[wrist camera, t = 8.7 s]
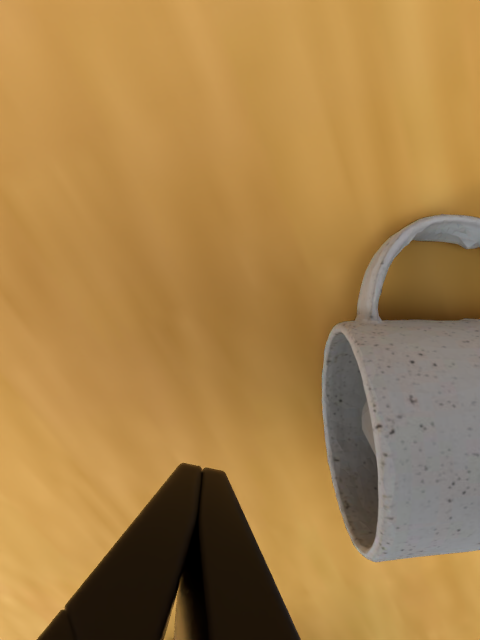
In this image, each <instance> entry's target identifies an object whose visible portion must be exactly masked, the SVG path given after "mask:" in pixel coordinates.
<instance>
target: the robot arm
mask: <svg viewBox="0 0 480 640" xmlns="http://www.w3.org/2000/svg"><path fill="white" fill-rule="evenodd" d="M177 591H178V594H177ZM176 594H177V604H176V616H175V631H174V640H301V639H300V637H299V635H298V632H297V630H296V628H295V626H294V624H293V621H292V619H291V617H290V615H289V613H288V610H287V608H286V606H285V604H284V602H283V599H282V597H281V595H280V593H279V590H278V588H277V586H276V584H275V582H274V579H273V577H272V575H271V573H270V571H269V568H268V566H267V564H266V562H265V560H264V557H263V555H262V553H261V551H260V549H259V546H258V544H257V542H256V540H255V538H254V535H253V533H252V531H251V529H250V527H249V524H248V522H247V520H246V518H245V515H244V513H243V511H242V509H241V507H240V504H239V502H238V500H237V498H236V496H235V493H234V491H233V489H232V487H231V485H230V482H229V480H228V478H227V476H226V474H225V472H224V471H221V470H216V469H211V468H204V469H203V470H202V468H201V467H200V466H196V465H191V464H186V463H182V464H180V465H179V466H178V467H177V468H176V470H175V471H174V472H173V473H172V475H171V476H170V477H169V478H168V479H167V481H166V482H165V483H164V484H163V486H162V487H161V488H160V489H159V491H158V492H157V493H156V494H155V495H154V497H153V498H152V499H151V500H150V502H149V503H148V504H147V505H146V507H145V508H144V509H143V510H142V511H141V513H140V514H139V515H138V516H137V518H136V519H135V520H134V521H133V523H132V524H131V525H130V526H129V527H128V529H127V530H126V531H125V532H124V534H123V535H122V536H121V537H120V539H119V540H118V541H117V542H116V543H115V545H114V546H113V547H112V548H111V550H110V551H109V552H108V553H107V555H106V556H105V557H104V558H103V559H102V561H101V562H100V563H99V564H98V566H97V567H96V568H95V569H94V571H93V572H92V573H91V574H90V576H89V577H88V578H87V579H86V580H85V582H84V583H83V584H82V585H81V587H80V588H79V589H78V590H77V592H76V593H75V594H74V595H73V596H72V598H71V599H70V600H69V601H68V603H67V604H66V605H65V609H64V610H61V611H60V612H59V613H58V614H57V616H56V617H55V618H54V619H53V621H52V622H51V623H50V624H49V626H48V627H47V628H46V629H45V630H44V632H43V633H42V634H41V635H40V636H39V638H38V639H37V640H164V636H165V633H166V629H167V626H168V623H169V619H170V616H171V612H172V609H173V605H174V602H175V598H176Z"/></svg>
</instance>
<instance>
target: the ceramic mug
mask: <svg viewBox="0 0 480 640" xmlns="http://www.w3.org/2000/svg"><path fill="white" fill-rule="evenodd" d="M412 240H417V241H440V242H448V243H454V244H458V245H460V246H462V247H463V248H465V249H474V248H477V247H479V248H480V218H477V217H472V216H464V215H446V214H441V215H436V216H430V217H424V218H422V219H418V220H417V221H415V222H413V223H411V224H409V225H408V226H406V227H405V228H403V229H402V230H400V231H399V232H397V233H395V234H394V235H392V236H391V237H389V239H388V240H387V241H386V242H385V243H384V244H383V245H382V246H381V247H380V248H379V250H378V251H377V252H376V253H375V254H374V256H373V258H372V259H371V261H370V263H369V265H368V267H367V269H366V271H365V275H364V278H363V281H362V284H361V289H360V294H359V299H358V304H357V316H356V319H355V321H345V322H341V323H338V324H337V325H335V326H334V327H333V329H332V330H331V332H330V334H329V337H328V340H327V342H326V346H325V350H324V365H323V371H322V406H323V411H322V412H323V421H324V433H325V442H326V448H327V458H328V464H329V467H330V471H331V476H332V483H333V486H334V489H335V493H336V498H337V501H338V504H339V509H340V511H341V514H342V516H343V520H344V523H345V526H346V529H347V531H348V533H349V535H350V538H351V540H352V543H353V545H354V546H355V547H356V549H357V550H358V551H359V552H360V553H361V554H362V555H363V556H364V557H365V558H367V559H369V560H371V561H374V562H380V561H388V560H396V559H404V558H412V557H420V556H430V555H440V554H450V553H459V552H468V551H476V550H480V319H466V318H464V319H462V320H457V321H437V320H384V321H382V320H381V318H380V317H379V314H378V302H379V297H380V295H381V292H382V286H383V283H384V280H385V277H386V274H387V271H388V268H389V266H390V265H391V263H392V261H393V259H394V258H395V257H396V256H397V255H398V254H399V253H400V252H401V250H402V249H403V248H404V247H405V246H407V245H408V244H409V243H410V242H411V241H412Z"/></svg>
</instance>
